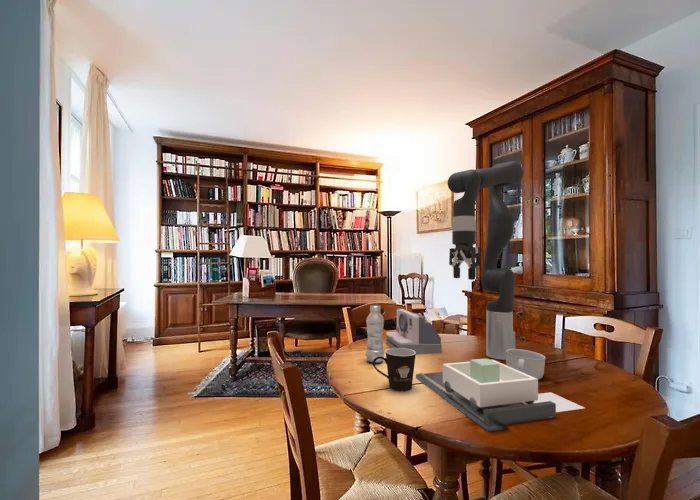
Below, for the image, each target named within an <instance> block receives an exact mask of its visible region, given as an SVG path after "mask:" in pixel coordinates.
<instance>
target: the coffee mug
mask: <svg viewBox="0 0 700 500" xmlns="http://www.w3.org/2000/svg"><path fill="white" fill-rule="evenodd" d="M416 355H417V354H416V352H415V351H414V350H411V349H406V348H391V347H390V348H387V349H386V350H385V356H384V357H381V356H379V357H376V358H375V359H374V360H373V363H372V366H373V369H375V370H376V371H377V372H378V373H379V374H381V375H382V376H383V377H386V379H387V380H388V387H389V388H390V389H391V390H393V391H396V392H409V391H411V390H412V388H413V381H414V373H415V372H414V371H415V363H416ZM377 359H383V361H384V362H385V364H386V368H387V369H386V370H387V374H386V373H384V372H382V371H381V370H379V369H378V368H377V366H376V363H375V361H376V360H377Z"/></svg>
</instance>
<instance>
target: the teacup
mask: <svg viewBox="0 0 700 500" xmlns="http://www.w3.org/2000/svg"><path fill="white" fill-rule="evenodd" d="M545 361H546V356H545V355H543V354H541V353H539V352H535V351H532V350H527V349H521V348H520V349H519V348H515V349H508V350H506V360H505V365H507V366H509V367H511V368H514V369H516V370H518V371H521V372H523V373H525V374H527V375H530V376H532V377H534V378H537V379H538V381H539V380H541V379H542V378H543V376H544V374H545V366H546V365H545Z"/></svg>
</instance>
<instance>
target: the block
mask: <svg viewBox="0 0 700 500" xmlns="http://www.w3.org/2000/svg"><path fill="white" fill-rule="evenodd" d="M491 360H492V359H489V358H476V359H469V362H470V377H471V378H473V379H474V380H476V381H478V382H480V383H488V382H497V381H500V364H498V363H496V362H494V361H491Z"/></svg>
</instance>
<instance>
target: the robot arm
mask: <svg viewBox="0 0 700 500" xmlns="http://www.w3.org/2000/svg"><path fill="white" fill-rule="evenodd" d="M523 169H524V168H523V166H522V164H521V163H520V162H518V161H515V160H513V161H512V160H511V161H506V162H502V163H497V164H494V165H493V166H492V167H485V168H477V169H476V168H475V169H466V170H462V171H458V172H457V171H456V172H454V173H452V174H450V176H449V177H448V179H447V187H448V189H449V191H451V192H452V193H454V194H461V193H464V194H463V195H462V196H461V198H458V199H456V200H454V201H453V205H452V223H451V224H452V225H451V226H452V228H451V230H452V232H451V234H452V235H451V236H452V237H451V238H452V239H451V240H452V241H451V242H452V245H454V246H455V247H451V248H449V258H448V259H449V260H448V264H449V266H451V267H452V269H453V270H452V272H453V274H452V275H453V276H452V277H453V279H460V278H461V267H460V266H461V265H462V263H464V262H465V263H466V265H467V267H468V268H467V270H468V272H467V274H468V275H467V277H468V278H467V279H468V280H471V281H475V280H476V278H477V276H476V275H477V272H476V271H477V268H478V267H480V266H481V263H482V261H481V248H480V247H478V246H475V247H474V245H476V244H477V222H476V203H477V199H478V196H479V195H478V194H479V191H480V190H481V189H485V188H489V207H488V219H487V227H486V228H487V229H486V245H485V246H486V247H485V255H484V258H483V259H484V261H483V265H482V266H483V267H482V273H481V287H482V289H483V290H484V292H487V293H498V294H499V296H498V298H497V299H495V300H492V301H488V302H487V303H486V305H485V307H486V308H485V310H486V311H485V313H486V314H485V315H486V316H485V317H486V320H485V321H486V325H485V326H486V327H485V328H486V329H485V330H486V331H485V332H486V334H485V335H486V338H485V339H486V342H485V343H486V344H485V345H486V351H485V353H486V356H487V357H489V358H490V359H491V358H492V359H493V360H505V361H506V350H508V349H516V332H515V331H514V315H513V314H514V312H513V311H514V304H515V287H516V286H515V285H516V284H515V282H516V279H515V278H516V277H515V273H514V272H513V270H512V269H510V268H497V265H498V260H499V257H500V256H501V254H502V252H503V250H504V249H505V248H506V247H507V245H508V244H509V242H510V241H511V239H512V238H513V233H514V224H515V223H514V221H515V219H514V216H513V213H512V212H511V210H510V208H509V207H508V206H507V204H506V202H505V200H504V198H503V187H508V186H514V185H517V184H519V183H520V182H521V181H522V180H523V177H524V172H523V171H524V170H523Z"/></svg>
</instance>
